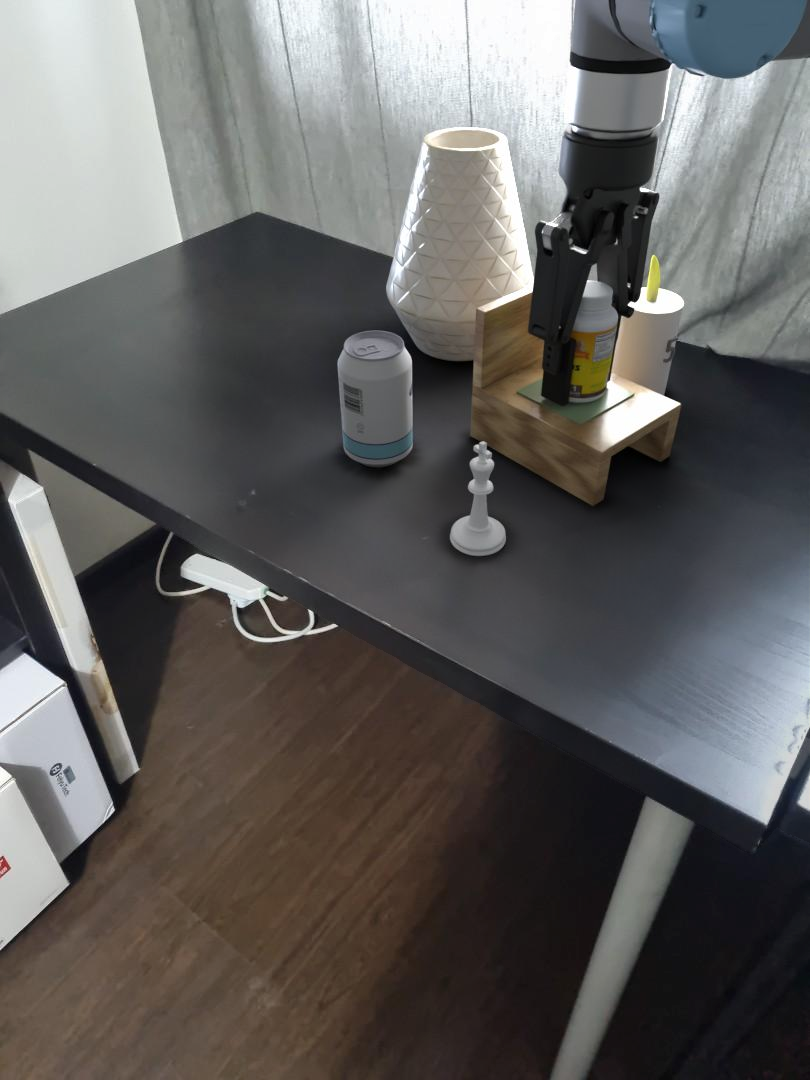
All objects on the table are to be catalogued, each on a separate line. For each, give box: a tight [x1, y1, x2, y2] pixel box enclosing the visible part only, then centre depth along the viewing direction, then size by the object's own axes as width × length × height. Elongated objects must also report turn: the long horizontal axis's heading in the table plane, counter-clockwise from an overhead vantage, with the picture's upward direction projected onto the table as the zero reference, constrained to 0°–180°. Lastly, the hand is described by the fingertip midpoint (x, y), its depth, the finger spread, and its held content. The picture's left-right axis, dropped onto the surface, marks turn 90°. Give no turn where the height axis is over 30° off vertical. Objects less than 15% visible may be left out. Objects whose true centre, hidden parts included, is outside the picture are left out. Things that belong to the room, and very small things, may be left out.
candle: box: [612, 254, 685, 396], centre depth 87 cm, size 6×6×15 cm
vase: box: [385, 126, 534, 362], centre depth 94 cm, size 17×17×23 cm
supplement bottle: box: [568, 279, 618, 403], centre depth 76 cm, size 6×6×10 cm
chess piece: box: [449, 441, 507, 557], centre depth 70 cm, size 5×5×10 cm
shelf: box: [470, 285, 682, 507], centre depth 79 cm, size 16×12×14 cm
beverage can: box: [337, 330, 414, 468], centre depth 79 cm, size 7×7×12 cm
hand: (575, 387), depth 79 cm, fingers closed on supplement bottle, 5 cm apart
